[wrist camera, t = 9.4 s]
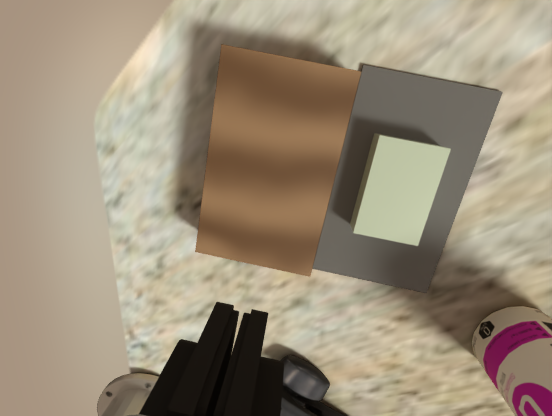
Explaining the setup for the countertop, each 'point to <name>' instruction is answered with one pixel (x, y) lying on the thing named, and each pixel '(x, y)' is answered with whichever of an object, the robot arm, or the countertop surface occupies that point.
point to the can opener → (303, 390)
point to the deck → (272, 157)
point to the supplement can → (518, 357)
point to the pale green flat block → (398, 188)
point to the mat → (413, 126)
